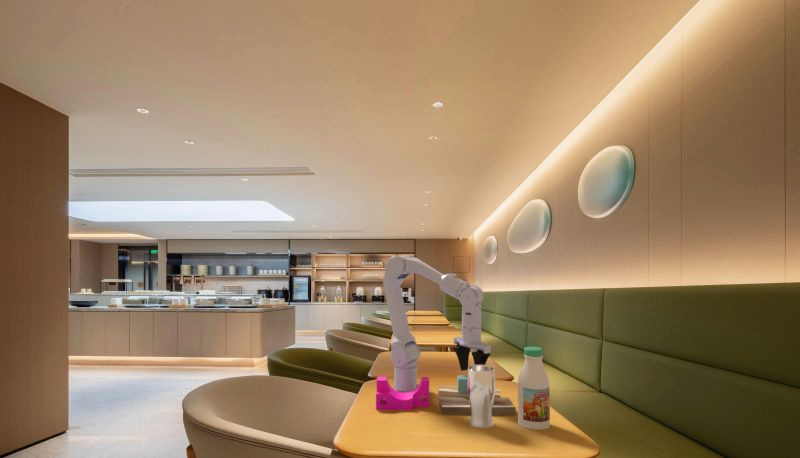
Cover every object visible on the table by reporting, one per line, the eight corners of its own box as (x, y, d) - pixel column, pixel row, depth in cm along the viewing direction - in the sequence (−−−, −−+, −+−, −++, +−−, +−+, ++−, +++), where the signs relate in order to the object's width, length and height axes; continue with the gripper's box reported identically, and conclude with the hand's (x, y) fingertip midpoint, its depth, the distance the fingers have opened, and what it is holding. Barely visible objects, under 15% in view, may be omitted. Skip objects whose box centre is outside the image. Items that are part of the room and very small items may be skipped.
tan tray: (440, 395, 142) (440, 385, 142) (500, 399, 138) (500, 389, 138) (438, 400, 137) (438, 390, 137) (500, 405, 133) (500, 395, 134)
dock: (439, 404, 133) (439, 396, 133) (508, 404, 133) (508, 396, 133) (441, 414, 125) (441, 406, 125) (515, 414, 125) (515, 407, 125)
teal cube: (457, 388, 139) (457, 375, 139) (470, 389, 139) (470, 375, 139) (458, 393, 135) (458, 379, 135) (472, 393, 135) (472, 379, 135)
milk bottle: (512, 427, 117) (512, 348, 117) (527, 419, 122) (526, 343, 123) (541, 436, 111) (540, 353, 112) (555, 427, 117) (554, 347, 118)
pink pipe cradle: (375, 410, 129) (376, 383, 129) (377, 402, 135) (377, 376, 136) (429, 410, 129) (429, 383, 129) (428, 402, 135) (428, 376, 135)
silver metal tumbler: (478, 435, 112) (478, 373, 112) (462, 425, 118) (462, 366, 119) (501, 430, 115) (501, 369, 116) (483, 420, 122) (483, 362, 122)
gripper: (445, 324, 142) (445, 368, 142) (477, 332, 130) (477, 381, 129) (463, 322, 146) (463, 365, 145) (496, 329, 133) (496, 377, 133)
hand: (471, 372), depth 138 cm, fingers open, 6 cm apart
